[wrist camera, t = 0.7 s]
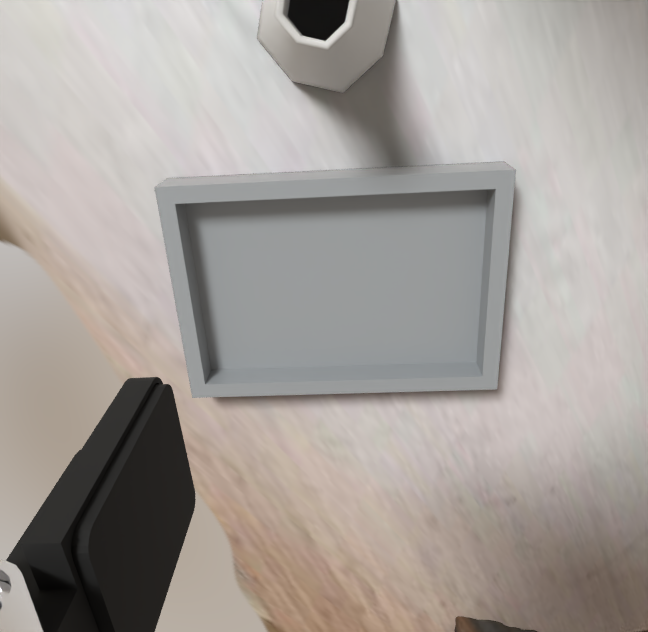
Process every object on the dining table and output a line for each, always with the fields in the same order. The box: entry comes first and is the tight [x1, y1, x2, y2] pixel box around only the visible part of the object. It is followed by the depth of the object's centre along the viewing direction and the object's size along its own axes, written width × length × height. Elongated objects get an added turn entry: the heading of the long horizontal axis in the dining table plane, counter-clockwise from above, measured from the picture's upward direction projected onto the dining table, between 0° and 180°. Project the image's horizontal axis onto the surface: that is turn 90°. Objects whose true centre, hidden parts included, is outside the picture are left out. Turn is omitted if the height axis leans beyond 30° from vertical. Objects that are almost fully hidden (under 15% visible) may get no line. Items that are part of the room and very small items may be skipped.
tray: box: [155, 162, 516, 398], centre depth 36 cm, size 14×20×2 cm
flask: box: [257, 0, 396, 93], centre depth 26 cm, size 7×7×10 cm
